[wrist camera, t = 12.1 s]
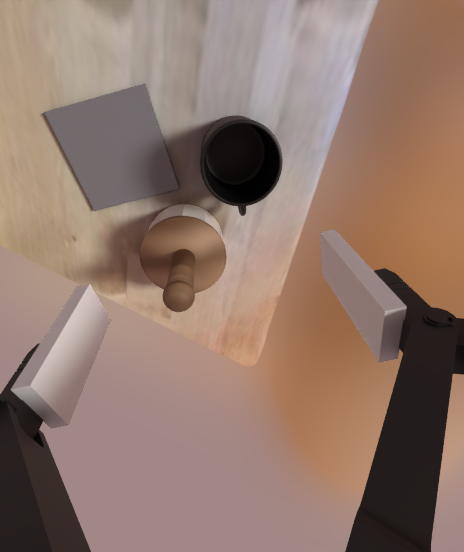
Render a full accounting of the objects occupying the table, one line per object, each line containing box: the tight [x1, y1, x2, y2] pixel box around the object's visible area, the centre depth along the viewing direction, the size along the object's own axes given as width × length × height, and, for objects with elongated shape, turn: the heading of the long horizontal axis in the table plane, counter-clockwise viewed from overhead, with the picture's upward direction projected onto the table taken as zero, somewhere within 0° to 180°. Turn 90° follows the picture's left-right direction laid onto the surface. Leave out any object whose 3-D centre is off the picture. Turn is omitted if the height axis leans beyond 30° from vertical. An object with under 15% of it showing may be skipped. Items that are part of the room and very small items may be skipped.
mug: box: [200, 116, 282, 216], centre depth 37 cm, size 9×12×9 cm
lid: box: [140, 216, 226, 312], centre depth 36 cm, size 12×12×12 cm
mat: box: [44, 84, 179, 211], centre depth 39 cm, size 13×13×1 cm
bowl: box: [147, 204, 224, 243], centre depth 44 cm, size 12×12×6 cm
